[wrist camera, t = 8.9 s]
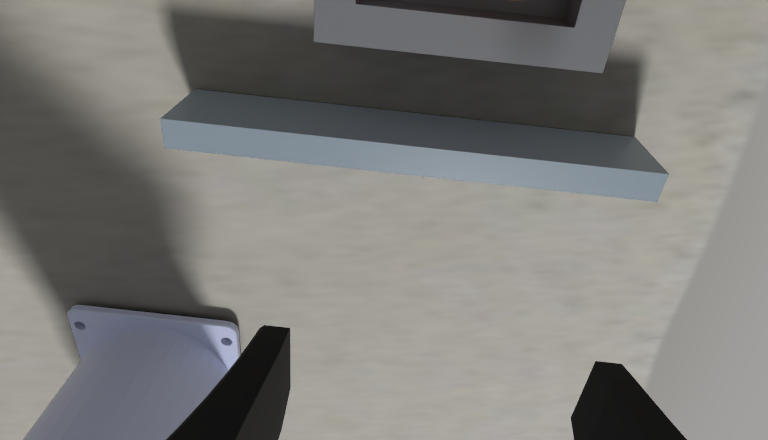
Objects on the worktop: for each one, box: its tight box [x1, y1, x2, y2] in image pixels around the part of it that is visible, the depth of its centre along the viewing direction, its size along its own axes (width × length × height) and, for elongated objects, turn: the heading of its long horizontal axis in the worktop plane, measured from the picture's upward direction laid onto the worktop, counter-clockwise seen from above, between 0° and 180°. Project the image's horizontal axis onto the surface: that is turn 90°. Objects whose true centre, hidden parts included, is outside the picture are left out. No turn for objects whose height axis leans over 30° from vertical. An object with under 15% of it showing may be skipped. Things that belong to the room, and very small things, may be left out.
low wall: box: [160, 89, 669, 202], centre depth 18 cm, size 1×16×3 cm, turn 85°
